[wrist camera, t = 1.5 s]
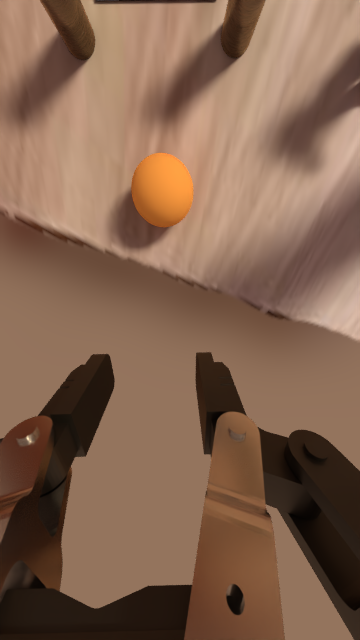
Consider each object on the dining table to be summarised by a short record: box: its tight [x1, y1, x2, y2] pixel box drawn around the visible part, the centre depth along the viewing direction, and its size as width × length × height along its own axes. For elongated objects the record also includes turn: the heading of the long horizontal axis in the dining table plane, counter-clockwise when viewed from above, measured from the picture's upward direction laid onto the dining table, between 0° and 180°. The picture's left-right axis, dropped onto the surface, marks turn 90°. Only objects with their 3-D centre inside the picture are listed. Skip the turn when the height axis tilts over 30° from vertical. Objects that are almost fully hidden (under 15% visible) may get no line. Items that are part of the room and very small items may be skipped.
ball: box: [131, 153, 193, 227], centre depth 19 cm, size 6×6×6 cm
